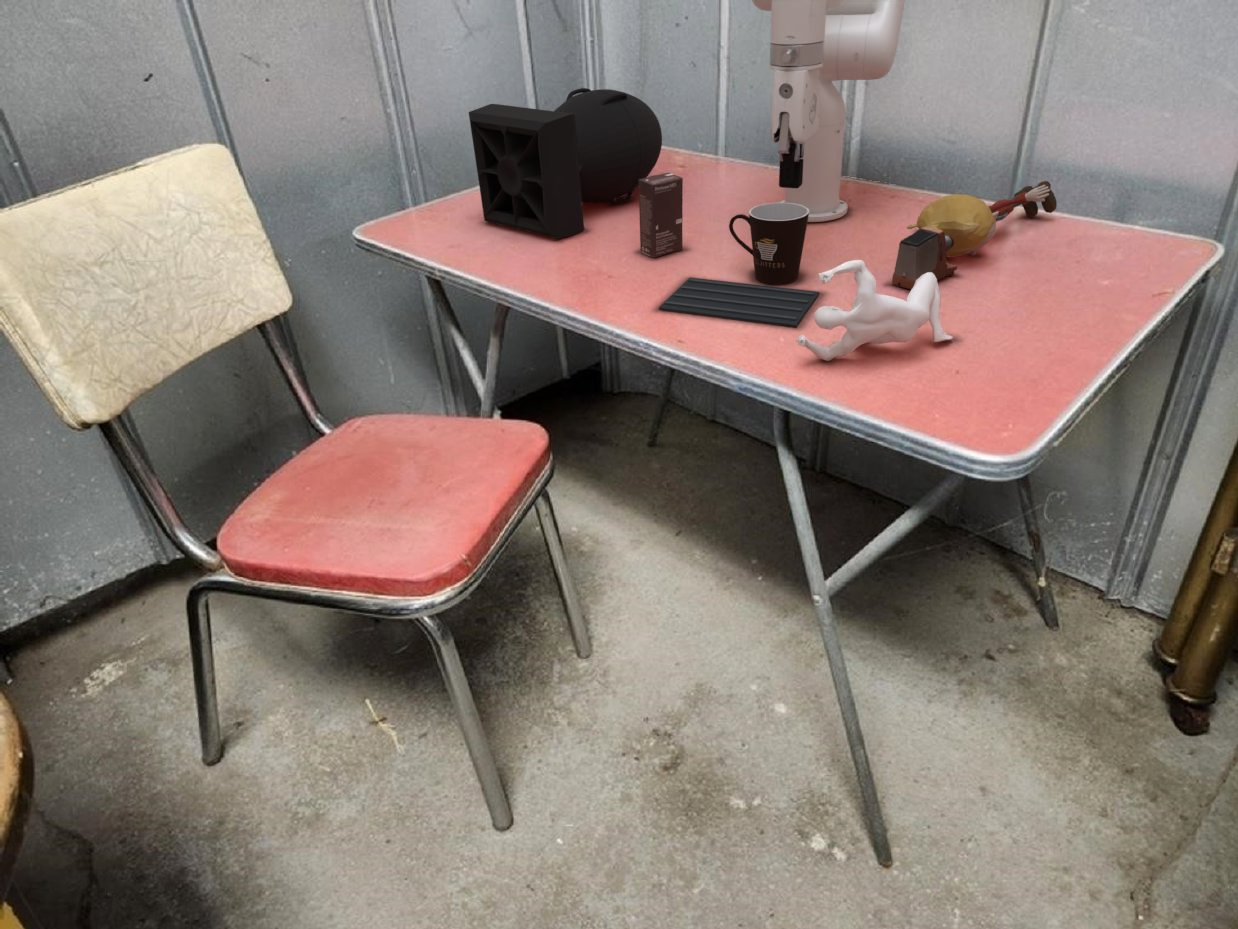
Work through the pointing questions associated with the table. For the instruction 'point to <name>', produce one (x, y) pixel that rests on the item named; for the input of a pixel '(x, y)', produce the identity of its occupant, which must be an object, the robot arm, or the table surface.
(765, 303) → the drying mat
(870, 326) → the person figurine
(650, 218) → the box
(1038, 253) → the table surface
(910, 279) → the electronic device
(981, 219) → the toy
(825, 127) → the robot arm
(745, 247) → the coffee mug
